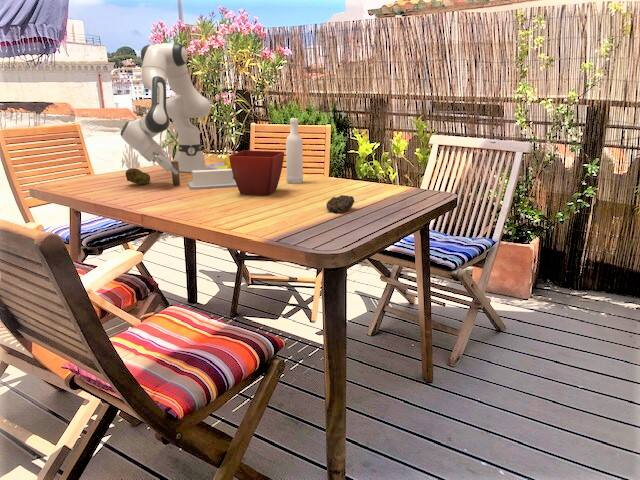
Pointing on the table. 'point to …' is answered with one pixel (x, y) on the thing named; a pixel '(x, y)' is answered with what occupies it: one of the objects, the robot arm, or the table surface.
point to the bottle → (294, 154)
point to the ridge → (212, 179)
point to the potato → (137, 176)
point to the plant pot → (257, 171)
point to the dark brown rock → (340, 204)
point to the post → (175, 177)
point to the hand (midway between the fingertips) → (176, 172)
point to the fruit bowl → (221, 165)
